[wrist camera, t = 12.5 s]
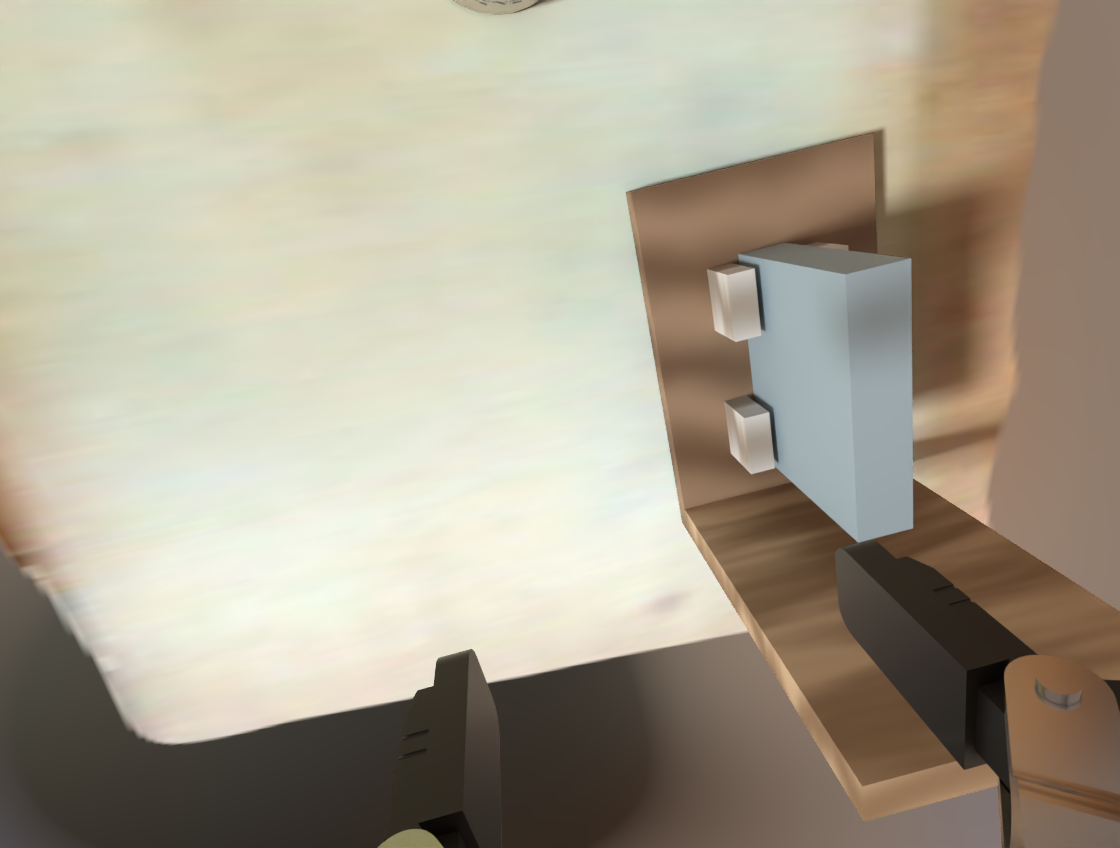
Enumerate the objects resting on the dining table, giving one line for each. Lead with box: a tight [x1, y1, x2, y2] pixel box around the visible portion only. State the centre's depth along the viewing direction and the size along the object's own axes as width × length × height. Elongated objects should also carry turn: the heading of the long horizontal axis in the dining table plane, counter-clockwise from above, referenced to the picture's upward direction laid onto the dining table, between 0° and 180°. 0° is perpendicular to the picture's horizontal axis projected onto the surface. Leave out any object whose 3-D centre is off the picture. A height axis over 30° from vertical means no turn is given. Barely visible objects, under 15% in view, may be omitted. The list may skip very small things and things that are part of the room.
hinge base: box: [626, 133, 1120, 821], centre depth 30 cm, size 24×15×24 cm, turn 13°
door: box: [738, 243, 913, 543], centre depth 34 cm, size 14×4×12 cm, turn 13°
